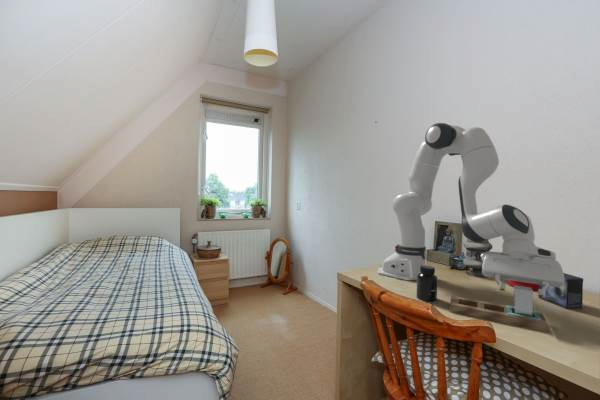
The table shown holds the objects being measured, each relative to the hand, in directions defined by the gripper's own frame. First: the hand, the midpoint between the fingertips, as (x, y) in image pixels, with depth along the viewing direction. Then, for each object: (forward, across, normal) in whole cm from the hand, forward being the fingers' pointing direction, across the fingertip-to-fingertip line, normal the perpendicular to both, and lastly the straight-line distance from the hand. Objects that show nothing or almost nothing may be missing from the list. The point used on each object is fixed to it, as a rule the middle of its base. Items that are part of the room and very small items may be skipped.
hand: (521, 292), depth 84 cm
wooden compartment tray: (+7, -6, +6) cm, 11 cm away
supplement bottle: (+4, -26, +9) cm, 28 cm away
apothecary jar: (-31, -12, +44) cm, 55 cm away
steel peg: (+6, 0, +5) cm, 8 cm away
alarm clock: (-24, +7, +38) cm, 45 cm away
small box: (-13, +13, +26) cm, 32 cm away
